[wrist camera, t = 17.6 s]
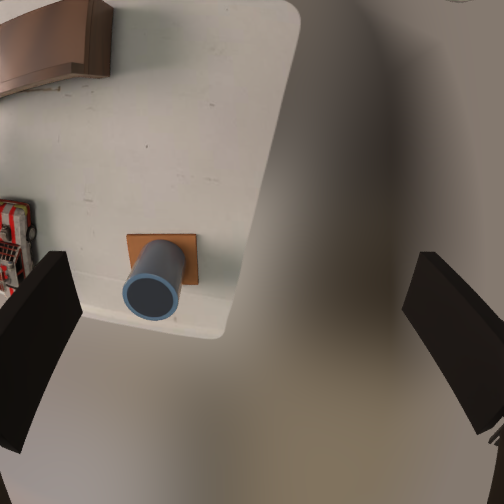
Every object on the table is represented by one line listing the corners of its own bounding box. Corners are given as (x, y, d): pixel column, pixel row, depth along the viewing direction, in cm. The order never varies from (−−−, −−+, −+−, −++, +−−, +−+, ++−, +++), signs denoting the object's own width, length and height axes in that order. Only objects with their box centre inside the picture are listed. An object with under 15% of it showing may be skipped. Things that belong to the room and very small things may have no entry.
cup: (184, 239, 43) (175, 274, 35) (187, 282, 46) (180, 321, 38) (136, 239, 42) (117, 273, 34) (142, 281, 45) (127, 320, 37)
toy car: (35, 200, 38) (8, 219, 32) (44, 296, 46) (26, 323, 40) (0, 194, 37) (-28, 212, 30) (12, 287, 45) (-8, 312, 38)
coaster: (196, 233, 43) (195, 235, 43) (198, 282, 47) (198, 284, 46) (127, 234, 42) (126, 235, 42) (134, 281, 46) (133, 283, 46)
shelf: (113, 7, 27) (78, -15, 18) (110, 76, 32) (71, 73, 22) (-18, 51, 26) (-63, 52, 16) (-19, 109, 30) (-66, 121, 20)
